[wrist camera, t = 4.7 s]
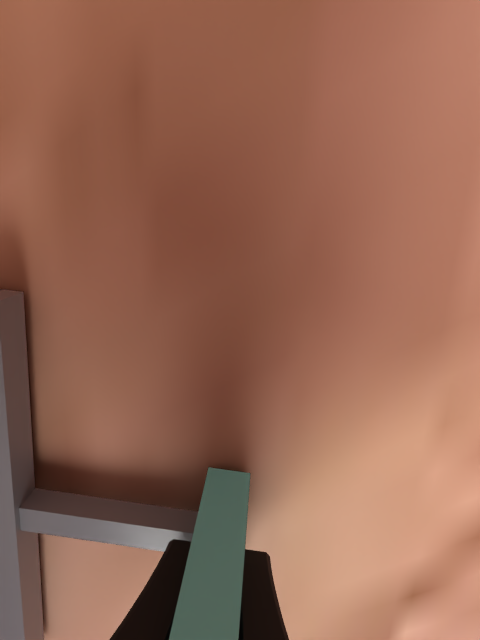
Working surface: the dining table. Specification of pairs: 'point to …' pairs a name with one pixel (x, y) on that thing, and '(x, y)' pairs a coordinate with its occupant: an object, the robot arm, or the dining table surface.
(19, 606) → the frame with teal handle
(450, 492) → the dining table surface
